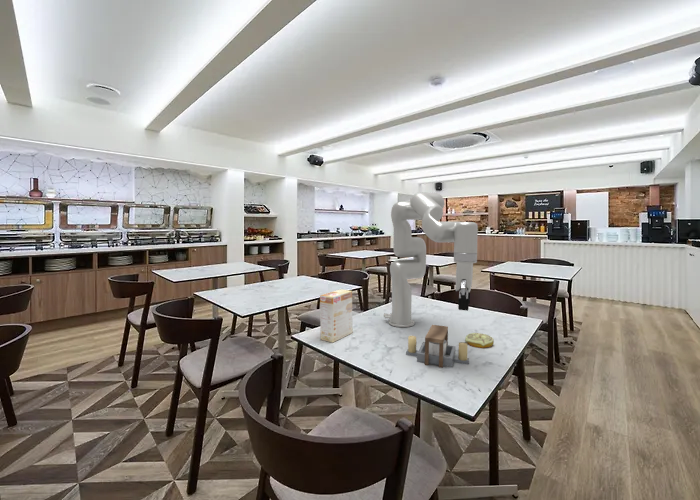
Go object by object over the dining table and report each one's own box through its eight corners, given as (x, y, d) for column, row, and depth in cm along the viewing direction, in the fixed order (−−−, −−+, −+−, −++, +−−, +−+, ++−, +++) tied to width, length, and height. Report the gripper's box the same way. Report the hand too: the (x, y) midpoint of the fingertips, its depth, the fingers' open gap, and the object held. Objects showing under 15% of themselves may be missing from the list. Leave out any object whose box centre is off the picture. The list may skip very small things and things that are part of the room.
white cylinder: (436, 364, 114) (436, 345, 113) (423, 357, 120) (423, 339, 119) (450, 360, 117) (450, 341, 116) (437, 353, 123) (437, 335, 122)
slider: (403, 359, 117) (403, 341, 116) (410, 347, 128) (410, 331, 127) (467, 369, 108) (468, 350, 108) (469, 356, 119) (469, 338, 119)
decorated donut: (460, 345, 132) (461, 336, 132) (472, 338, 140) (472, 329, 139) (486, 352, 125) (486, 342, 124) (497, 344, 132) (497, 335, 132)
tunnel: (424, 366, 112) (425, 337, 112) (431, 350, 126) (431, 324, 126) (442, 369, 110) (443, 339, 109) (447, 352, 124) (448, 326, 123)
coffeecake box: (340, 330, 151) (340, 288, 149) (353, 333, 147) (353, 290, 145) (319, 339, 139) (319, 294, 137) (332, 343, 135) (332, 297, 133)
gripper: (456, 255, 121) (455, 300, 122) (451, 260, 105) (450, 311, 107) (477, 255, 118) (476, 301, 120) (476, 261, 102) (474, 314, 104)
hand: (464, 306), depth 113 cm, fingers open, 9 cm apart
